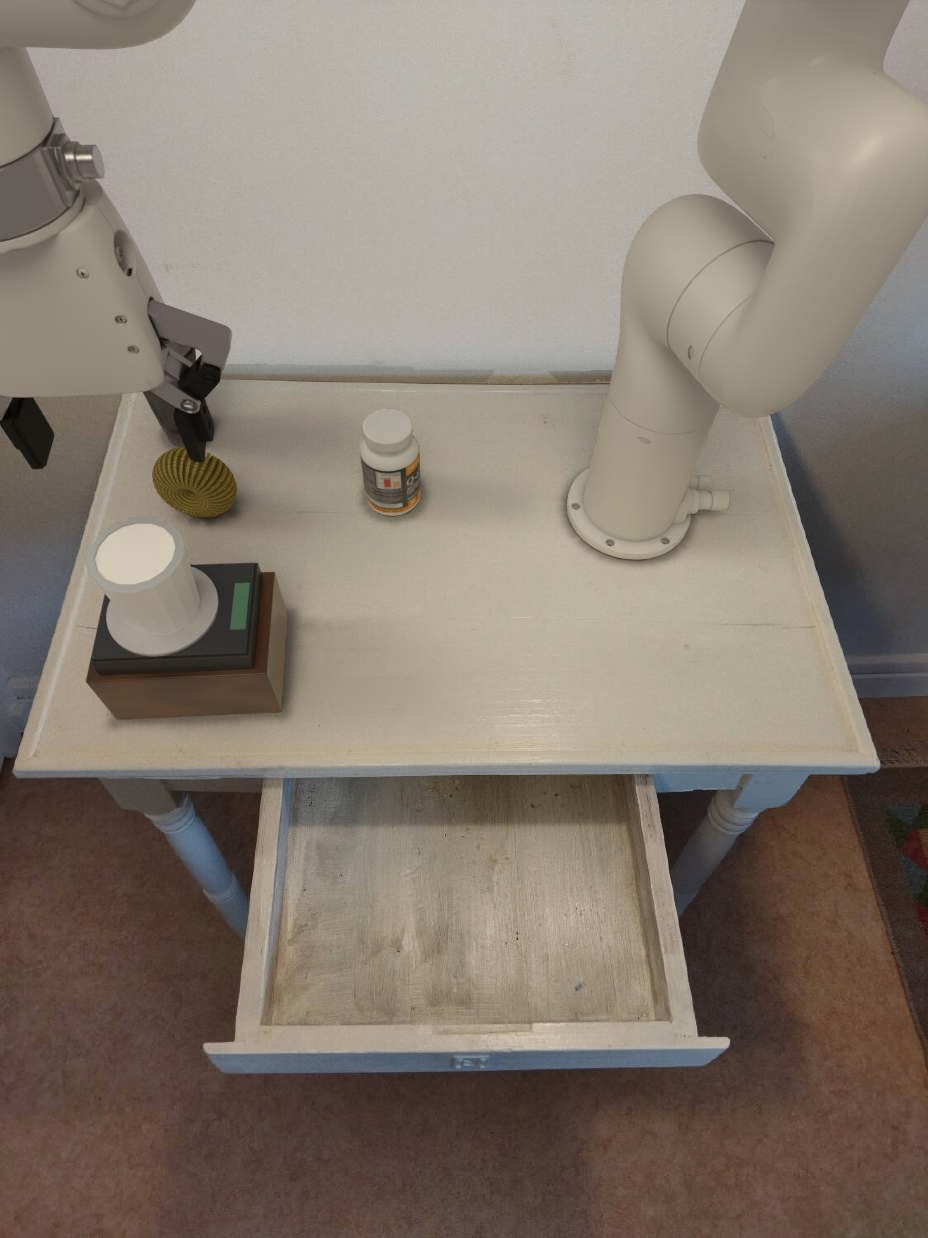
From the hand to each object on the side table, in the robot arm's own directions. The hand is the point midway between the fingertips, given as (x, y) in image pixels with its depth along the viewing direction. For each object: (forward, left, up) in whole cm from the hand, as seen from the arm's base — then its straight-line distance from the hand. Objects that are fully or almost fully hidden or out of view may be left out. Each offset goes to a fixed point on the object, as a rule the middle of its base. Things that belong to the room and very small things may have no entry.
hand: (123, 449), depth 49 cm
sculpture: (+3, -17, -26) cm, 31 cm away
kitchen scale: (+1, +1, -19) cm, 19 cm away
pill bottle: (-16, -18, -26) cm, 35 cm away
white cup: (+2, +1, -16) cm, 16 cm away
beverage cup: (+6, -28, -26) cm, 38 cm away
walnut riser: (+1, +1, -26) cm, 26 cm away
